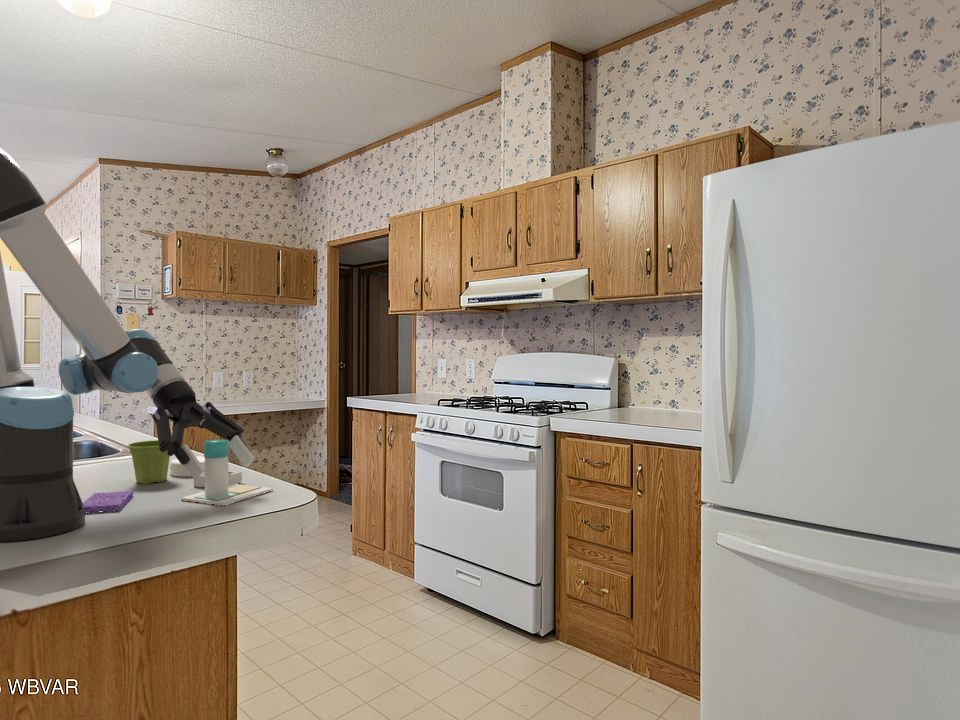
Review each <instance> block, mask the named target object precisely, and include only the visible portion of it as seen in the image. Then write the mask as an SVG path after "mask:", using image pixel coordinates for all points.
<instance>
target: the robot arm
mask: <svg viewBox="0 0 960 720" xmlns="http://www.w3.org/2000/svg"><path fill="white" fill-rule="evenodd" d="M47 205H48V204H47V203H46V201H45V200H44V198H43V197H42V195H41V194H40V192H39V191H38V190H37V188H36V187H35V185H34V183H33V182H32V181H31V179H30V177H28V175H27V174H26V173H25V171H24V170H23V169H22V168H21V166H20V165H19V164H18V163H17V162H16V161H15V160H14V159H13V158H12V157H11V156H10V155H9V154H8V153H7V152H6V151H4V150H3V149H2V148H0V239H1V241H2V242H3V244H4V246H6V247H7V249H8V250H9V252H10V253H11V254H12V256H13V257H14V259H16V262H17V263H18V264H19V265H20V266H21V268H22V270H24V272H25V273H26V275H27V276H28V278H29V280H31V282H32V283H33V284H34V286H35V287H36V289H37V290H38V291H39V293H40V294H41V295H42V297H43V298H44V299H45V300H46V303H48V305H49V306H50V307H51V309H52V310H53V311H54V313H55V314H56V316H57V317H58V318H59V319H60V321H61V323H63V325H64V326H65V328H66V330H68V332H69V333H70V334H71V336H72V337H73V338H74V340H75V341H76V343H77V344H78V345H79V347H80V348H81V349H82V351H83V352H84V353H82V354H79V353H77V354H75V355H73V356H70V357H66V358H65V357H64V358H62V359H61V361H60V362H59V365H58V375H59V379H60V381H61V384H62V387H63V388H64V389H65V390H61V389H58V388H54V387H53V388H51V387H41V386H35V381H34V378H33V376H31V375H29V374H27V373H26V372H25V371H23V370H22V366H21V360H20V355H19V350H18V349H19V348H18V343H17V338H16V337H17V336H16V332H15V327H14V326H15V325H14V321H13V316H12V315H13V314H12V309H11V305H10V304H11V303H10V298H9V293H8V287H7V282H6V281H7V280H6V275H5V270H4V269H5V268H4V265H3V259H2V254H1V251H0V542H15V541H16V542H19V541H26V540H33V539H40V538H45V537H51V536H56V535H60V534H64V533H67V532H70V531H72V530H75V529H78V528H80V527H82V526H83V525H84V524H85V523H86V513H85V508H84V506H83V501H82V498H81V495H80V493H79V491H78V488H77V486H76V483H75V481H74V417H75V409H74V406H73V399H72V398H73V397H72V396H71V395H73V396H77V395H82V394H89V393H90V392H94V391H99V390H101V391H110V392H120V393H125V394H133V393H134V394H135V393H142V392H145V393H146V394H147V395H148V397H149V398H150V400H152V402H153V404H154V406H155V407H156V410H155V411H154V413H153V414H152V415H151V417H152V419H153V421H154V422H155V426H156V434H157V440H158V442H159V449H160V451H161V452H166V451H168V452H167V454H168V455H169V456H170V457H172V456H175V459H178V460H179V462H180V463H181V464H182V465H184V466H185V467H186V469H187V470H188V472H189V473H190V474H191V476H192V477H191V478H192V479H193V481H194V480H195V479H198V478H199V476H200V475H201V474H202V473H203V472H204V470H205V469H204V468H203V466H202V465H201V463H200V462H199V461H198V459H197V458H196V457H195V456H196V455H195V454H194V453H193V451H192V449H191V448H190V446H189V445H188V444H187V443H186V444H183V439H184V434H185V433H184V432H185V429H189V428H199V429H205V430H207V431H210V432H211V433H213V434H215V435H217V436H218V437H220V438H222V439H223V440H229V449H231V451H232V452H233V453H234V455H235V456H236V457H237V458H238V460H239V461H240V462H241V464H242V465H243V466H244V468H247V467H249V466H250V464H252V462H253V461H254V460H255V456H254V455H253V454H252V453H251V451H250V449H248V447H247V444H246V443H245V441H244V440H243V438H242V437H241V435H243V433H244V432H245V430H244V428H242V427H241V426H240V425H238V424H237V423H236V422H234V421H233V420H232V419H230V418H229V417H228V416H226V415H225V414H224V413H223V412H221V411H220V410H218V409H217V408H216V407H215V405H214V404H212V402H211V401H208V402H206V403H205V404H203V405H200V403H198V402H197V396H196V393H195V391H194V390H193V388H192V386H190V385H189V383H188V382H187V381H186V379H185V377H184V376H183V375H182V373H181V372H180V370H178V368H177V366H175V364H174V363H173V362H172V360H171V359H170V358H169V356H168V355H167V354H166V351H165V350H164V349H163V348H162V347H161V345H160V343H159V342H158V341H157V340H156V339H155V338H154V336H153V335H152V334H151V333H150V332H149V331H148V330H146V329H142V328H141V329H140V328H135V329H130V330H129V331H128V332H126V331H125V330H124V328H123V326H122V325H121V324H120V322H119V321H118V320H117V318H116V316H115V315H114V313H113V312H112V310H111V308H109V306H108V305H107V303H106V301H105V300H104V299H103V297H102V296H101V294H100V293H99V292H98V290H97V288H96V287H95V285H94V284H93V282H92V281H91V279H90V278H89V276H88V275H87V273H86V272H85V270H83V268H82V266H81V265H80V263H79V262H78V260H77V259H76V257H75V256H74V254H73V253H72V252H71V250H70V248H69V247H68V246H67V244H66V242H65V241H64V239H63V238H62V237H61V235H60V234H59V232H58V231H57V229H56V227H55V226H54V225H53V223H52V222H51V220H50V219H49V218H48V216H47V214H46V208H47ZM70 394H71V395H70ZM170 421H171V422H172V427H171V425H170ZM182 444H183V445H182Z"/></svg>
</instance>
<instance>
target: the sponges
mask: <svg viewBox="0 0 960 720" xmlns="http://www.w3.org/2000/svg"><path fill="white" fill-rule="evenodd" d="M133 495H134V489H132V490H130V489H129V490H120V491H110V492H109V491H108V492H106V491H105V492H94V493H93V494H91V496H89V497H88V498H86V499H85V500H84V501H82V503H83V506H84V508H85V514H89V513H88V512H99V511H114V510H120V509H121V508H122V507H123V508H124V505H125V504H126V505H127V503H128V502H130V500H131V499H132V498H133ZM130 498H131V499H130ZM123 508H122V509H123ZM122 509H121V510H122ZM121 510H120V511H121ZM86 512H87V513H86ZM114 512H115V511H114Z"/></svg>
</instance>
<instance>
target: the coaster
mask: <svg viewBox="0 0 960 720" xmlns="http://www.w3.org/2000/svg"><path fill="white" fill-rule="evenodd" d="M195 457H196V458H197V459H198V461H199V462H200V463H201V465H202V466H203V468H204V469H205V457H204V455H203V456H202V455H198V456H196V455H195ZM169 466H170V467H169V469H170V471H169V474H170V476H171V477H172V476H173V477H176V476H178V477H179V478H192V477H191V474H190V473H189V472H188V470H187V469H186V467H185V466H184V465H182V464H181V463H180V462H179V460H178V459H177V458H174V459H172V460H171V461H169ZM203 473H205V470H204V472H203Z"/></svg>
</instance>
